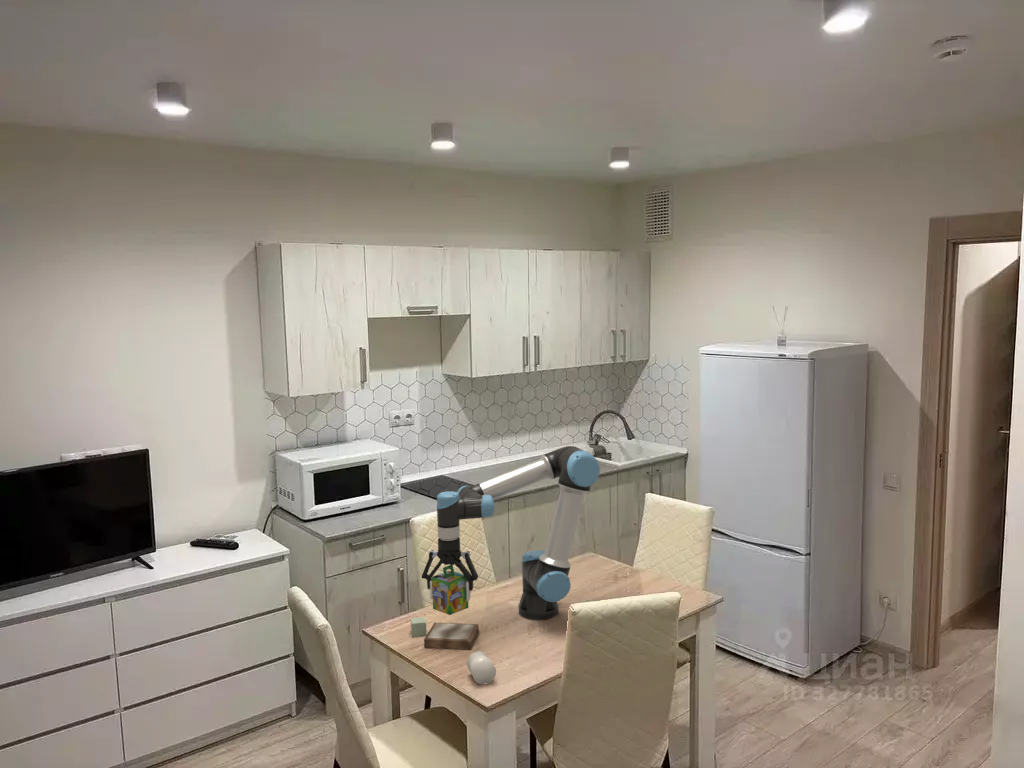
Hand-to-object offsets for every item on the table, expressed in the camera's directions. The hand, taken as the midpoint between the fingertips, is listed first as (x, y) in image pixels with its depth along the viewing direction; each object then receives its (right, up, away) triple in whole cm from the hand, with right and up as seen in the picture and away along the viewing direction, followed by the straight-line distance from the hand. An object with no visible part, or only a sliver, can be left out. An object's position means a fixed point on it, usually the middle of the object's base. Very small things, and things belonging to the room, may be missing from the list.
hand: (450, 598), depth 259 cm
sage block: (-12, -14, +7) cm, 20 cm away
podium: (0, -15, +1) cm, 15 cm away
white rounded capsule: (+10, -13, -23) cm, 28 cm away
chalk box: (0, -4, 0) cm, 4 cm away
